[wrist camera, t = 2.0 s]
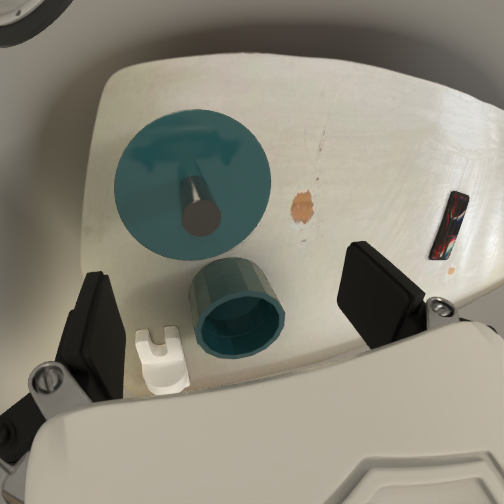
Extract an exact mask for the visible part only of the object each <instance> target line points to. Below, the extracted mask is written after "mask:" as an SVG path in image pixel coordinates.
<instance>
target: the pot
mask: <svg viewBox="0 0 504 504" xmlns="http://www.w3.org/2000/svg"><path fill="white" fill-rule="evenodd" d="M189 299H190V306H191V312H192V318H193V324H194V330H195V335H196V340H197V343H198V344H199V345H200V346H201V347H202V348H203V350H204V351H205V352H206V353H208V354H211V355H213V356H215V357H218V358H224V359H239V358H244V357H248V356H252V355H254V354H256V353H258V352H260V351H262V350H264V349H266V348H267V347H268V346H270V345H271V344H272V343H273V342H274V341H275V340H276V339H277V338H278V336H279V335H280V333H281V331H282V329H283V327H284V321H285V312H284V310H283V308H282V306H281V304H280V302H279V300H278V298H277V297H276V295H275V293H274V291H273V289H272V288H271V286H270V284H269V282H268V280H267V278H266V277H265V275H264V273H263V271H262V270H261V269H260V268H259V267H258V266H257V265H256V264H254V263H252V262H251V261H248V260H245V259H242V258H224V259H220V260H217V261H214V262H212V263H210V264H208V265H207V266H205V267H204V268H203V269H201V270H200V271H199V272H198V273H197V275H196V276H195V277H194V279H193V281H192V283H191V286H190V290H189Z"/></svg>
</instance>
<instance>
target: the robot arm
mask: <svg viewBox="0 0 504 504" xmlns="http://www.w3.org/2000/svg"><path fill="white" fill-rule="evenodd" d="M43 1H44V0H0V26H6V25H9V24H12V23H15V22H17V21H19V20H21V19H22V18H24V17H26V16H27V15H29V14H30V13H31V12H32V11H34V10H35V9H36V8H37V7H38V6H39V5H40V4H42V3H43ZM425 294H426V293H425V292H423V291H422V290H421V289H420V288H419V287H418V286H417V285H416V284H415V283H414V282H412V281H411V280H410V279H409V278H408V277H407V276H406V275H405V274H403V273H402V272H401V271H400V270H399V269H398V268H397V267H395V266H394V265H393V264H392V263H391V262H390V261H389V260H387V259H386V258H385V257H384V256H383V255H382V254H380V253H379V252H378V251H377V250H376V249H374V248H373V247H372V246H371V245H370V244H368V243H367V242H366V241H358V242H352V243H351V244H350V246H349V247H348V248H347V251H346V256H345V262H344V267H343V272H342V277H341V282H340V287H339V291H338V296H337V304H338V306H339V308H340V309H341V310H342V312H343V313H344V314H345V316H346V317H347V318H348V320H349V321H350V322H351V324H352V325H353V326H354V328H355V329H356V330H357V332H358V333H359V334H360V336H361V337H362V338H363V340H364V341H365V342H366V344H367V345H368V346H369V348H370V349H371V350H369V351H366V352H363V353H360V354H356V355H353V356H350V357H346V358H343V359H340V360H336V361H333V362H329V363H326V364H322V365H319V366H315V367H311V368H307V369H303V370H299V371H295V372H290V373H287V374H282V375H277V376H273V377H269V378H263V379H259V380H255V381H249V382H244V383H238V384H233V385H227V386H221V387H215V388H208V389H202V390H195V391H187V392H180V393H172V394H164V395H155V396H145V397H135V398H125V399H123V379H124V360H125V346H126V333H125V329H124V326H123V323H122V320H121V317H120V314H119V310H118V307H117V304H116V300H115V297H114V294H113V290H112V287H111V283H110V279H109V276H108V275H104V274H103V272H102V271H98V272H89V273H87V274H86V277H85V279H84V282H83V285H82V288H81V290H80V293H79V296H78V299H77V302H76V305H75V308H74V310H71V311H70V312H69V315H68V318H67V321H66V324H65V327H64V330H63V334H62V337H61V340H60V344H59V347H58V351H57V354H56V358H55V361H48V362H44V363H42V364H40V365H38V366H37V367H36V368H35V369H34V370H33V371H32V372H31V374H30V376H29V379H28V388H29V390H30V393H28V394H27V395H26V396H25V397H23V398H22V399H21V400H20V401H18V402H17V403H16V404H14V405H13V406H12V407H11V408H9V409H8V410H7V411H6V412H4V413H3V414H2V415H0V504H504V340H503V339H502V338H501V337H500V336H499V335H498V333H497V332H496V331H495V329H494V328H493V327H491V326H488V325H485V324H482V323H478V322H473V321H470V320H467V319H463V318H459V315H458V311H457V308H456V307H455V306H454V304H452V303H451V302H450V301H448V300H446V299H444V298H441V297H431V298H429V299H428V300H427V301H426V303H425V302H424V301H423V299H424V296H425Z"/></svg>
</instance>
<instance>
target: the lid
mask: <svg viewBox="0 0 504 504" xmlns="http://www.w3.org/2000/svg"><path fill="white" fill-rule="evenodd" d="M270 190H271V173H270V168H269V163H268V160H267V157H266V154H265V152H264V150H263V148H262V146H261V144H260V143H259V142H258V140H257V139H256V137H255V136H254V135H253V134H252V133H251V132H250V131H249V130H248V129H247V128H246V127H245V126H243V125H242V124H241V123H239V122H238V121H236V120H234V119H233V118H231V117H229V116H226V115H224V114H221V113H218V112H214V111H210V110H201V109H191V110H182V111H176V112H173V113H170V114H167V115H164V116H162V117H160V118H158V119H156V120H154V121H153V122H151V123H150V124H148V125H147V126H145V127H144V128H143V129H142V130H141V131H140V132H139V133H137V135H136V136H135V137H134V138H133V139H132V140H131V141H130V143H129V144H128V146H127V147H126V149H125V150H124V152H123V154H122V156H121V158H120V161H119V164H118V167H117V170H116V175H115V181H114V194H115V202H116V206H117V210H118V213H119V215H120V218H121V220H122V222H123V223H124V225H125V227H126V228H127V230H128V231H129V232H130V234H131V235H132V236H133V237H134V238H135V239H136V240H137V241H138V242H139V243H140V244H142V245H143V246H144V247H146V248H147V249H149V250H151V251H153V252H154V253H156V254H159V255H161V256H164V257H168V258H171V259H177V260H191V261H192V260H202V259H207V258H211V257H214V256H217V255H220V254H222V253H224V252H226V251H228V250H230V249H232V248H233V247H235V246H237V245H238V244H239V243H241V242H242V241H243V240H244V239H245V238H246V237H247V236H248V235H249V234H250V233H251V232H252V231H253V230H254V228H255V227H256V226H257V224H258V223H259V221H260V220H261V218H262V216H263V214H264V212H265V210H266V207H267V204H268V201H269V196H270Z"/></svg>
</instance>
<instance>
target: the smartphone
mask: <svg viewBox="0 0 504 504" xmlns="http://www.w3.org/2000/svg"><path fill="white" fill-rule="evenodd" d="M468 203H469V196H468V195H466V194H463V193H460V192H457V191H453V192H452V193H451V196H450V199H449V203H448V206H447V209H446V212H445V215H444V218H443V221H442V224H441V227H440V230H439V233H438V235H437V238H436V241H435V244H434V246H433V249H432V251H431V254H430V259H431V260H447V259H448V258H449V256H450V253H451V251H452V248H453V246H454V243H455V240H456V238H457V235H458V232H459V230H460V227H461V224H462V221H463V218H464V215H465V212H466V209H467V206H468Z"/></svg>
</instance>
